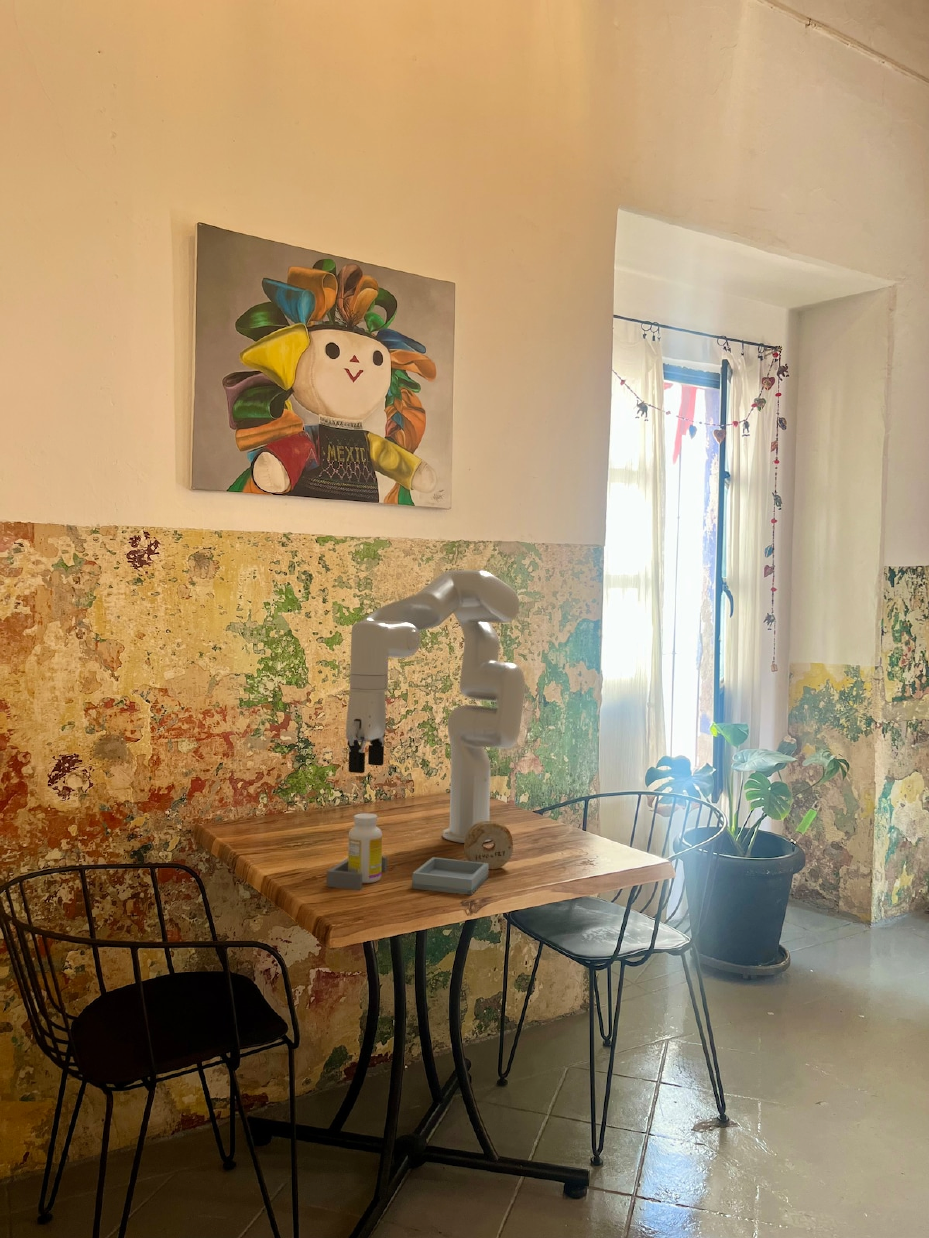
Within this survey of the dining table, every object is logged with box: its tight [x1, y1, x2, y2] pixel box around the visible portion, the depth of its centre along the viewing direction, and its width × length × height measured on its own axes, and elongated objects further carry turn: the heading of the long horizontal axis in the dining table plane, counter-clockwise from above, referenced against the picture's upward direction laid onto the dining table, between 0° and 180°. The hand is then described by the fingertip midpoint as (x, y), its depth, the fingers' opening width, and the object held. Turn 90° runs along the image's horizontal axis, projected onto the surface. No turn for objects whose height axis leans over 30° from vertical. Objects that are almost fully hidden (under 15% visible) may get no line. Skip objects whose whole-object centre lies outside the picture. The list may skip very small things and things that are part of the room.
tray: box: [411, 856, 489, 896], centre depth 183 cm, size 12×12×3 cm
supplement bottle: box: [347, 812, 383, 884], centre depth 184 cm, size 7×7×13 cm
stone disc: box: [463, 820, 514, 870], centre depth 194 cm, size 10×4×10 cm, turn 94°
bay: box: [326, 855, 388, 891], centre depth 184 cm, size 14×7×3 cm, turn 163°
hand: (366, 768), depth 184 cm, fingers open, 9 cm apart
